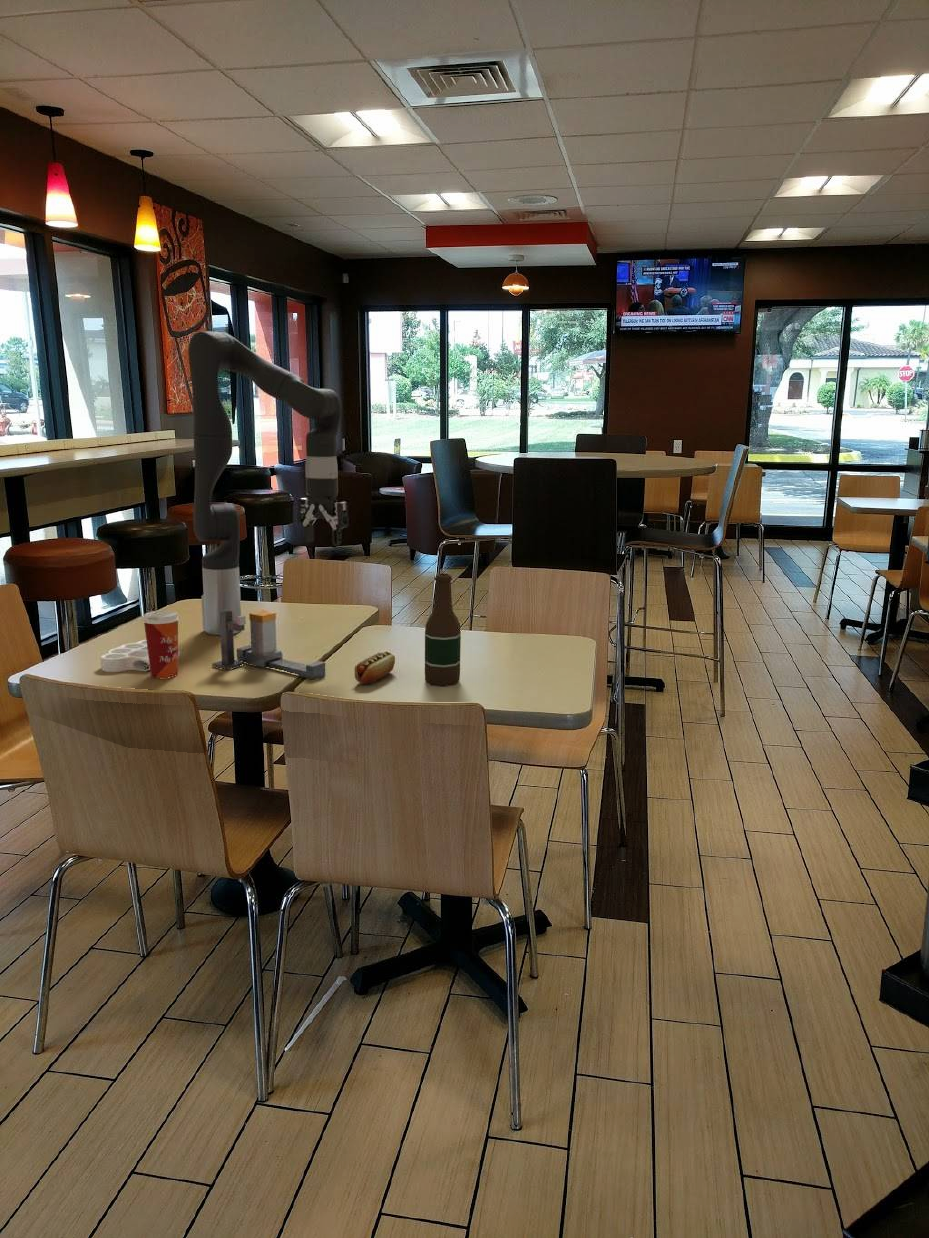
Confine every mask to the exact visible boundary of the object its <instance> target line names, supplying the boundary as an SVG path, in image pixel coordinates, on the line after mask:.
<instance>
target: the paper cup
mask: <svg viewBox="0 0 929 1238" xmlns="http://www.w3.org/2000/svg"><path fill="white" fill-rule="evenodd" d="M179 620H180V617H179V616H178V612H177V611H175V610H174V611H173V610H153V611H147V612H146V613H144V616H143V619H142V623H144V632H145V638H146V639H145V640H147V648H148V656H149V663H150V670H149V671H150V675H151V678H153V679H156V678H159V679H158V680H161V679H160V678H168V677H172V676H175V675H177V674H179V673H178V672H179V657H178V650H179ZM177 676H178V675H177ZM175 677H176V676H175ZM172 678H173V677H172ZM168 679H169V678H168Z"/></svg>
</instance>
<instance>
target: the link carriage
mask: <svg viewBox="0 0 929 1238" xmlns="http://www.w3.org/2000/svg"><path fill="white" fill-rule="evenodd" d="M248 617H249V622H250V623H249V626H250V628H249V629H250V645H251V651H247V652H246V663H248V664H247V665H250V664H252V665H251V666H254V665H255V666H254V667H258V666H260V667H259V668H262V667H263V668H262V669H267V668H266V662H267V661H270V660H273V659H277V658H280V659H283V652H282V650H278V649H277V631H276V630H277V629H276V627H277V626H276V625H277V624H276V620H277V612H275V611H269V610H263V609H262V610H259V611H254V612H250V613H249V615H248ZM246 663H245V664H246Z"/></svg>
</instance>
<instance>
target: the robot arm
mask: <svg viewBox="0 0 929 1238" xmlns="http://www.w3.org/2000/svg"><path fill="white" fill-rule="evenodd" d="M187 350H188V351H187V352H188V365H189V373H190V379H191V380H190V381H191V387H192V388H191V389H192V406H193V407H192V408H193V412H192V413H193V453H194V455H193V456H194V496H193V514H192V515H193V516H192V520H193V522H192V523H193V532H194V535H195V538H196V539H197V540H198V541H199V542H219V541H221V543H220V544H219V545H218V546H217V547H216V548H215V549H214V550H212V551H210V552H207V553H206V554H204V555H203V556H202V558H201V568H202V571H201V572H202V586H203V587H202V589H203V594H202V595H201V596H200V598H201V615H202V618H201V619H202V631H204V632H205V633H206V634H208V635H214V636H221V635H220V614H219V611H223V610H230V611H232V617H233V621H237V617H238V616H242V608H241V607H242V605H241V604H242V603H241V601H242V600H241V584H240V583H241V582H240V581H241V579H240V529H241V528H240V526H241V525H240V524H241V523H240V515H239V511H238V509H237V507H236V506H235V505H234V504H231V503H222V504H221V503H220V504H219V503H218V504H217V503H216V504H211V503H212V497H213V496H212V495H213V493H214V492H213V491H214V488H215V486H216V483H217V482H218V480H219V479H220V476H221V475H222V473H223V471H224V470H225V468H226V467H227V465H228V464H229V462H230V459H231V457H232V455H233V428H232V422H231V420H230V417H229V415H228V413H227V411H226V409H225V406H224V405H223V401H222V400H221V397H220V393H219V372H222V371H223V372H224V371H229V372H233V373H236V374H239V375H242V376H244V377H246V378H247V379H249V380H250V381H252V382H253V383H254V384H255V385H256V386H257V387H258V389H260V390H261V391H262V392H263V393H265V394H266V395H268V396H269V397H272V398H274V399H276V400H278V401H280V402H282V403H283V404H286V405H288V406H289V407H290V408H291V409H292V410H294V411H295V412H296V413H298V414H299V415H301V416H303V417H304V418H306V419H309V420H312V421H313V420H314V422H313V427H312V429H311V430H310V431H308V432H307V433H306V436H305V453H306V454H305V455H306V456H305V495H306V496H307V497H301V498H298V499H297V519H296V520H297V523H299V524H302V526H303V527H304V528H303V529H304V539H305V542H306V543H311V542H314V541H315V526H314V523H315V522H316V520H318V519H322V520H326V522H327V523H329V525H330V526H331V528H332V530H331V545H332V546H334V547H337V546H340V545H341V544H342V539H343V538H342V530H343V529H345V528H348V527H349V523H350V522H349V510H348V509H349V508H348V507H349V505H348V502H346V501H341V502H338V500H337V496H338V495H339V477H338V476H339V475H338V474H339V473H338V472H339V470H338V468H339V467H338V466H339V465H338V460H337V435H338V431H339V425H340V420H341V416H342V403H341V399H340V397H339V395H338V394H337V392H336V391H334V390H333V389H330V388H315V387H312V386H309V385H308V384H306V382H305V380H304V379H303V378H301V377H300V376H298V375H296V374H295V373H293V372H291V371H289V370H287V369H285V368H283V367H280V366H278V365H276V364H274V363H272V362H271V361H269V360H267V359H265V358H264V357H262V356H260V355H259V354H257V353H255V351H253V350H251V349H250V348H248V347H247V346H246V345H244V344H243V343H242V342H241V341H239V340H238V339H236V338H235V337H233V336H232V335H231V334H229V333H227V332H224V331H216V330H215V331H214V330H213V331H210V330H208V331H207V330H200V331H198V332H197V331H196V332H195V333H194V334H193V335H192V337H191V338H190V340H189V344H188V349H187ZM240 632H241V631H235V630H233V635H234V634H238V633H240Z"/></svg>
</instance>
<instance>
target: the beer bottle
mask: <svg viewBox="0 0 929 1238" xmlns="http://www.w3.org/2000/svg"><path fill="white" fill-rule="evenodd" d="M434 580H435V589H434V590H435V591H434V592H435V593H434V604H433V609H432V612H431V614H430V615H429V617H428V618H427V620H426V623H425V629H424V681H425V682H426V683H428V685H430V686H434V687H440V688H441V687H449V686H456V685H457V684H458V683H459V681H460V678H461V638H462V637H461V624H460V621H459V618H458V617H457V615H456V613H455V612H454V608H453V600H452V598H453V597H452V580H453V577H452V575H451V574H449V573H438V574H436V575H435V576H434Z"/></svg>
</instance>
